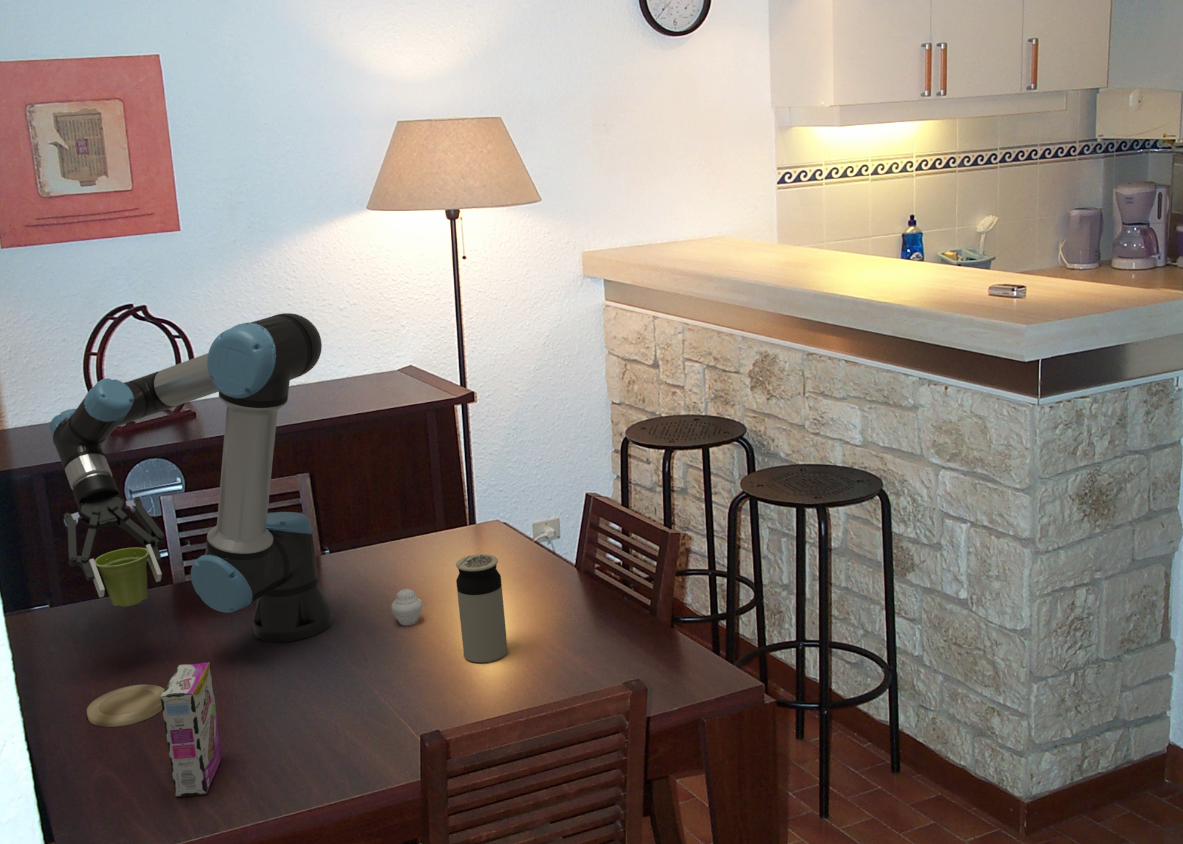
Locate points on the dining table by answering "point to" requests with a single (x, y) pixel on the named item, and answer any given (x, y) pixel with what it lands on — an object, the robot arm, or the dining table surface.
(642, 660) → the dining table surface
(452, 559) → the dining table surface
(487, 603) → the travel mug
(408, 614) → the muffin
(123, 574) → the plant pot
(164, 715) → the candy bar box
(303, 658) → the dining table surface
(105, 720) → the plate
